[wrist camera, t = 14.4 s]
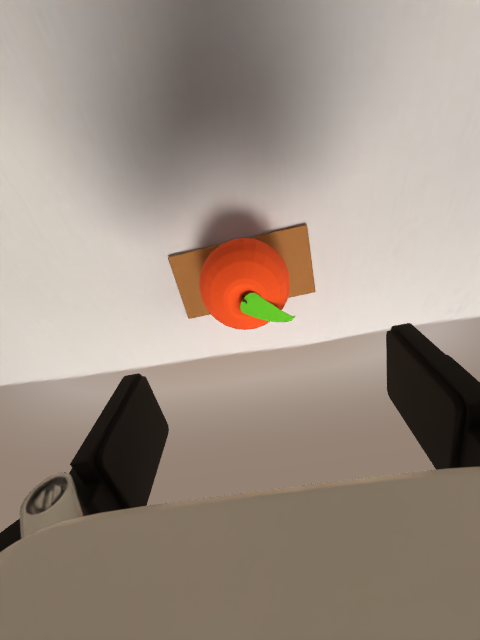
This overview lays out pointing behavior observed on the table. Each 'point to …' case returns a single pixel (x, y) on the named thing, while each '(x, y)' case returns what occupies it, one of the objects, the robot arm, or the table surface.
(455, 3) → the table surface
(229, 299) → the clementine
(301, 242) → the cork mat
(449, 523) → the robot arm
